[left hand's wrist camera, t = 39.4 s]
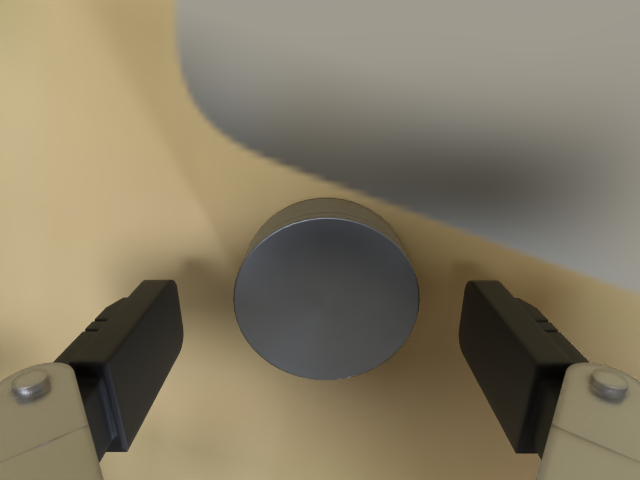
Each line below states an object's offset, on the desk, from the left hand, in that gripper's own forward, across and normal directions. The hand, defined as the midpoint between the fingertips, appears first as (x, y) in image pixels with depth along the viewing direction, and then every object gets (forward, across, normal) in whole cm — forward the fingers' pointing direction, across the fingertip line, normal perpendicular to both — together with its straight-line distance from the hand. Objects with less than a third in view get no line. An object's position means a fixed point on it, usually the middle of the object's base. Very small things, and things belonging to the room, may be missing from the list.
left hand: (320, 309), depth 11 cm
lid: (0, 0, 0) cm, 0 cm away
